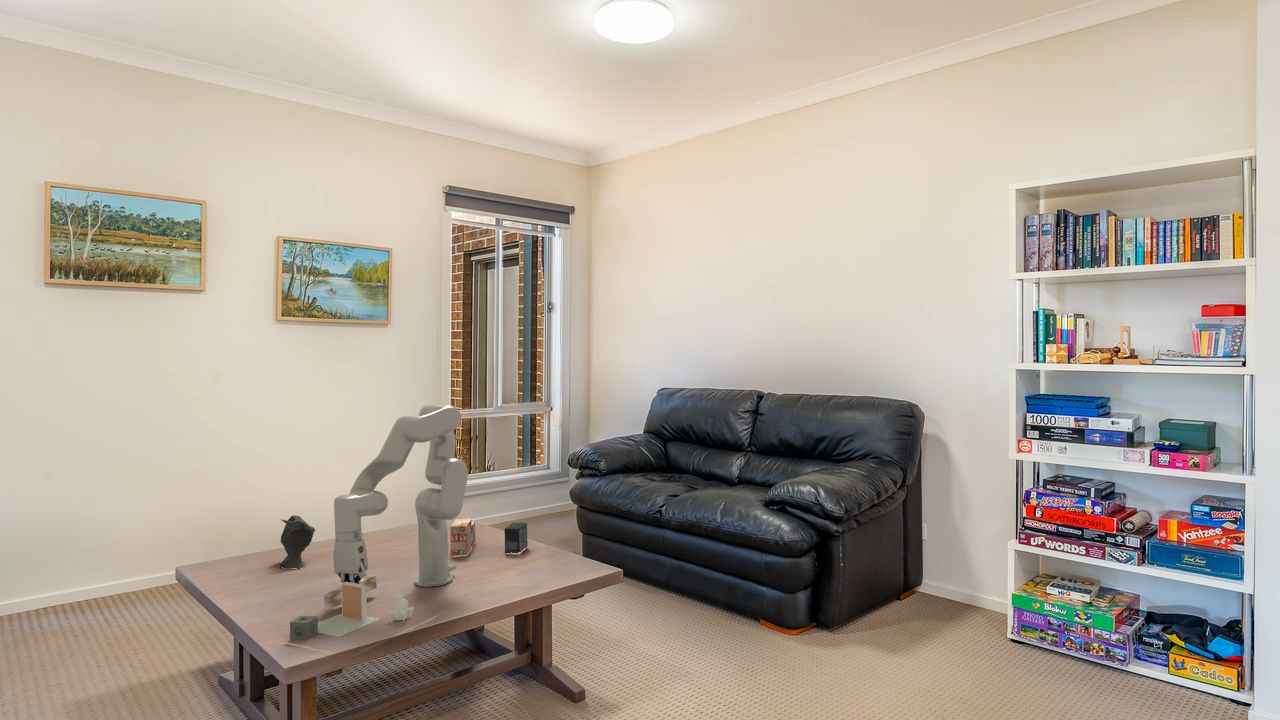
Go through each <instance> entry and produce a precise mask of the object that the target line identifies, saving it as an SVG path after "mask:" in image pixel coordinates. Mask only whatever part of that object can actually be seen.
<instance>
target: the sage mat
mask: <svg viewBox="0 0 1280 720" xmlns="http://www.w3.org/2000/svg"><path fill="white" fill-rule="evenodd" d="M366 618H367V620H365V621H363V622H362V621H357V620H352V619H347V618H342V612H341V613H339V614H337V615H335V616H332V617H329V618H327V619H324V620H322V621H318V633H317V634H323V635H327V636H332V637H337V638H339V637H342V636H344V635H347V634H349V633H351V632H353V631H356V630H358V629H360V628H362V627H365V626H367V625H369V624H372V623H374V622H377V621H379V620H380V618H377V617H373V616H372V617H371V616H368V615H366Z"/></svg>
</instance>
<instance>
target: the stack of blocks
mask: <svg viewBox="0 0 1280 720" xmlns="http://www.w3.org/2000/svg"><path fill="white" fill-rule="evenodd" d="M474 542H475V543H476V522H475V520H472V518H455V520H454V522H453V523H452V524H450V557H451V556H458V555H467V554H468V552H469V551H470V550H471V551H472V549H471V547H472V546H473V545H474ZM474 546H475V545H474ZM474 546H473V547H474ZM473 547H472V548H473Z"/></svg>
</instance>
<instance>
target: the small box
mask: <svg viewBox="0 0 1280 720" xmlns="http://www.w3.org/2000/svg"><path fill="white" fill-rule="evenodd" d="M528 542H529V541H528V522H511V523H510V524H509V525H507V526H506V527H504V554H505V553H511V552H512V553H518V552H521V551H522V550H523V549H524V548H526V547H527V546H528V544H529V543H528ZM528 547H529V546H528Z"/></svg>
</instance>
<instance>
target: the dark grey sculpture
mask: <svg viewBox="0 0 1280 720" xmlns="http://www.w3.org/2000/svg"><path fill="white" fill-rule="evenodd" d="M279 520H280V521H281V522H283V523H285V525H284V528H283V531H282V533H281V537H280V544H281V545H282V546H283V547H284V550H285V552H286V554H287V555H286V557H285V558H284V559H283V560H282V561H281V563H279V568H282V567H283V568H297V569H296V570H300V568H303V567H305V568H306V566H305V565H304V564H303V563H302V561H303V560H302V553H303V552H304V551H305V550H306V548H307V547H309V546H310V544H311V542H312V541H313V537H314V533H315V532H316V529H315V527H313V526H311V525H309V523H307V522H306V521H305V520H304V519H303V518H302V517H301V516H299V515H295V514H294V515H291V516H290V517H289V518H288V519H287V520H286V519H279ZM303 569H304V568H303Z"/></svg>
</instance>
